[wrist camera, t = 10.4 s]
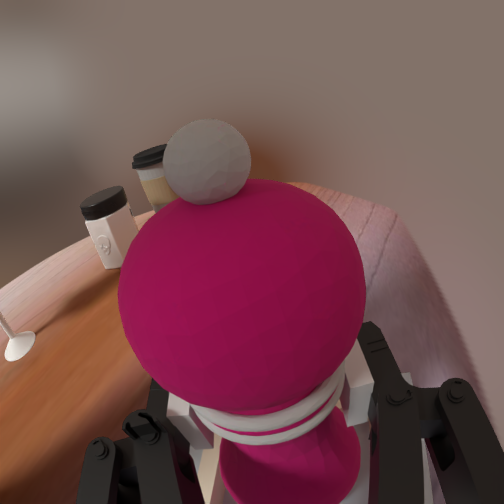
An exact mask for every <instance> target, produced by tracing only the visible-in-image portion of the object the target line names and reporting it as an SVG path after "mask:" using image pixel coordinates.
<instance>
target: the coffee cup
mask: <svg viewBox="0 0 504 504" xmlns="http://www.w3.org/2000/svg"><path fill="white" fill-rule="evenodd" d="M166 146H167V144H164V145H159V146H156V147H153V148H150V149H147V150H144V151H142V152H140V153H138V154H136V155H135V156H134V157H133V159H134V162H133V163H132V168H133V169H136V170H137V172H138V175H139V177H140V181H141V184H142V186H143V188H144V190H145V192H146V195H147V197H148V199H149V201H150V204H151V205H152V206H153V208H154V211H155V213H157V212H158V211H159V210H160V209H162V208H163V207H164V206H166V205H167V204H169V203H170V202H172V201H174V200H176V199H177V198H179V197H180V196H178V195H177V194H176V193H175V192H174V191H173V190H172V189H171V187H170V186H169V185H168V183H167V180H166V178H165V175H164V169H163V156H164V151H165V149H166Z"/></svg>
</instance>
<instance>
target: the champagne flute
mask: <svg viewBox="0 0 504 504" xmlns="http://www.w3.org/2000/svg"><path fill="white" fill-rule="evenodd" d="M0 325H1V326H2V328H3V329H4V331H5V332H6V333H7V335H8V336H9V338H10V340H9V343H8V345H7V348H6V351H5V358H6V360H8V361H15V360H18V359H20V358H21V357H23V356H24V355H25V354H26V353H27V352H28V351H29V350H30V349H31V347H32V346H33V344H34V342H35V334H34V333H33V332H32V331H26V332H21V333H17V334H15V333H14V331H13V330H12V329H11V327H10V326H9V324H8V323H7V321H6V320H5V318H4V317H3V315H2V314H1V312H0Z"/></svg>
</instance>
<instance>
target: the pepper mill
mask: <svg viewBox="0 0 504 504" xmlns="http://www.w3.org/2000/svg"><path fill="white" fill-rule="evenodd" d="M250 168H251V157H250V151H249V148H248V145H247V143H246V141H245V139H244V138H243V136H242V135H241V134H240V133H239V132H238V130H236V129H235V128H234V127H232V126H231V125H229V124H228V123H225V122H222V121H219V120H215V119H202V120H196V121H193V122H190V123H188V124H186V125H184V126H183V127H181V128H180V129H179V130H178V131H177V132H176V133H175V134H174V135H173V136H172V137H171V138H170V140H169V142H168V144H167V146H166V149H165V151H164V156H163V169H164V175H165V178H166V180H167V183H168V185H169V186H170V187H171V189H172V190H173V191H174V192H175V193H176V194H177V195H178V196H180V197H179V198H177V199H176V200H174V201H172V202H170V203H169V204H167V205H166V206H164V207H163V208H162V209H160V210H159V211H158V212H157V213H156V214H154V215H153V216H152V217H151V218H150V219H149V220H148V221H147V222H146V223H145V224H144V225H143V227H142V228H141V230H140V231H139V232H138V234H137V235H136V236H135V238H134V239H133V241H132V242H131V244H130V247H129V249H128V251H127V254H126V256H125V259H124V261H123V264H122V266H121V272H120V279H119V287H118V303H119V311H120V315H121V319H122V324H123V328H124V332H125V335H126V338H127V340H128V341H129V343H130V345H131V347H132V349H133V351H134V353H135V354H136V356H137V358H138V360H139V361H140V363H141V365H142V367H143V368H144V369H145V370H146V371H147V372H148V373H149V374H150V376H151V377H152V378H153V379H154V380H155V381H156V382H157V383H158V384H159V385H160V386H161V387H162V388H163V389H165V390H167V391H168V392H170V393H172V394H174V395H176V396H177V397H179V398H181V399H183V400H185V401H186V402H188V403H189V404H190V405H191V407H192V408H193V409H194V411H195V413H196V415H197V416H198V418H199V419H200V420H201V421H202V423H203V424H204V425H205V426H206V427H208V428H209V429H210V430H211V431H212V432H214V433H216V434H217V435H219V436H221V437H222V439H221V443H220V450H219V465H220V473H221V477H222V480H223V482H224V485H225V487H226V488H227V490H228V491H229V493H230V494H231V496H232V497H233V499H234V500H235V501H236V502H237V503H238V504H339V503H340V502H341V501H342V500H343V499H344V498H345V497H346V496H347V495H348V493H349V492H350V491H351V489H352V488H353V486H354V484H355V482H356V480H357V477H358V474H359V470H360V463H361V447H360V442H359V438H358V436H357V433H356V431H355V429H354V427H353V426H349V427H347V424H346V421H345V417H344V413H343V412H342V411H341V410H340V409H339V408H338V407H337V406H335V405H336V404H337V402H338V400H339V398H340V396H341V393H342V390H343V387H344V380H345V367H344V365H345V358H346V357H347V356H348V354H349V353H350V351H351V349H352V348H353V346H354V344H355V341H356V339H357V336H358V333H359V331H360V328H361V326H362V323H363V316H364V309H365V302H366V285H365V277H364V270H363V263H362V260H361V257H360V254H359V250H358V248H357V245H356V243H355V241H354V238H353V236H352V235H351V233H350V231H349V230H348V228H347V227H346V225H345V224H344V222H343V221H342V220H341V219H340V218H339V216H338V215H337V214H336V213H335V212H334V210H333V209H331V208H330V207H329V206H328V205H326V204H325V203H324V202H322V201H321V200H320V199H318V198H317V197H316V196H314V195H313V194H310V193H308V192H306V191H304V190H302V189H299V188H297V187H295V186H293V185H290V184H287V183H282V182H278V181H273V180H263V179H247V178H248V175H249V172H250Z"/></svg>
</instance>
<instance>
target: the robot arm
mask: <svg viewBox="0 0 504 504" xmlns="http://www.w3.org/2000/svg"><path fill="white" fill-rule="evenodd" d="M344 367H345V380H344V387H343V390H342V393H341V396H340V398H339V399H340V402H341V406H342V410H343V413H344V417H345V421H346V424H347V427H349V426H353V425H357V424H361V423H364V422H367V419H368V417H369V420H370V423H371V430H370V434H369V438H368V440H370V477H369V497H368V504H424V469H423V453H422V440H421V438H424V440H425V442H426V445H427V448H428V451H429V453H430V456H431V459H432V462H433V465H434V468H435V470H436V473H437V476H438V479H439V482H440V485H441V489H442V492H443V495H444V498H445V501H446V504H504V452H503V450H502V448H501V445H500V443H499V441H498V439H497V436H496V434H495V432H494V430H493V428H492V426H491V424H490V422H489V420H488V418H487V416H486V414H485V412H484V410H483V408H482V406H481V404H480V402H479V400H478V398H477V396H476V394H475V392H474V390H473V388H472V387H471V385H470V384H469V383H468V382H467V381H465V380H463V379H460V378H452V379H448V380H447V381H445V382H443V384H442V385H441V387H438V388H418V387H414V386H412V385H410V384H409V383H408V382H407V381H405V379H404V378H403V376H402V374H401V372H400V370H399V368H398V366H397V363H396V361H395V359H394V357H393V355H392V353H391V351H390V349H389V346H388V344H387V342H386V341H385V338H384V336H383V334H382V332H381V330H380V328H378V327H377V326H376V325H375V324H374V323H372V322H371V321H369V322H366V323H362V326H361V328H360V331H359V333H358V336H357V339H356V341H355V344H354V346H353V348H352V349H351V351H350V353H349V354H348V356H347V357H346V358H345V365H344ZM122 430H123V431H124V432H125V433H126V434H127V435H128V436H130V437H128V438H125V439H121V440H118V441H114V442H113V441H112V440H110V439H109V438H107V437H98V438H96V439H94V440H92V441H91V443H90V444H89V445H88V447H87V449H86V453H85V458H84V463H83V467H82V472H81V477H80V482H79V488H78V493H77V499H76V504H205V501H204V498H203V494H202V491H201V487H200V483H199V480H198V476H197V472H196V468H195V464H194V460H193V458H192V456H191V455H190V454H189V452H190V445H191V446H192V447H193V448H194V450H200V449H214V432H212V431H211V430H210V429H209V428H208V427H206V426H205V425H204V424H203V423H202V421H201V420H200V419H199V418H198V416H197V415H196V413H195V411H194V409H193V408H192V407H191V405H190V404H189V403H188V402H186V401H185V400H183V399H181V398H179V397H177V396H176V395H174V394H172V393H170V392H168V391H167V390H165V389H163V388H162V387H161V386H160V385H159V384H158V383H157V382H156V381H155V380H154V379H153V378H152V383H151V387H150V392H149V397H148V403H147V409H146V410H145V409H142V410H136V411H134V412H132V413H131V414H129V415H128V416H127V417H126V419H125V420H124V422H123V426H122Z"/></svg>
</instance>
